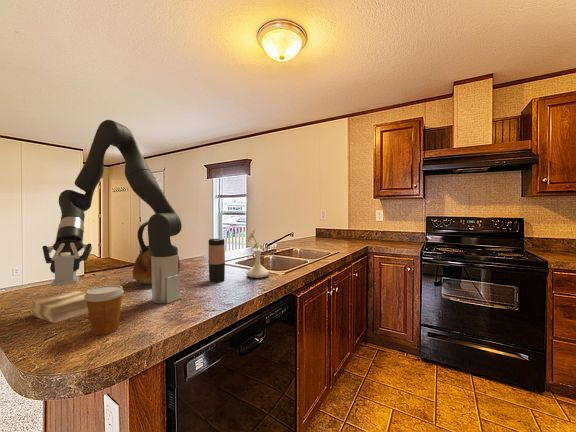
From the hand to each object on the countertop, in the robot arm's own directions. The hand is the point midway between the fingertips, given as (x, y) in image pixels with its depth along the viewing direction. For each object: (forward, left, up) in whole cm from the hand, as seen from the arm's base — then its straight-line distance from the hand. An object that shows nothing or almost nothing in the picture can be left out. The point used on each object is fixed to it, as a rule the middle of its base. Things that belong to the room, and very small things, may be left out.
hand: (64, 270), depth 90 cm
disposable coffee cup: (-25, +2, -15) cm, 29 cm away
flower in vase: (-33, -68, -15) cm, 77 cm away
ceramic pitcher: (+5, -40, -15) cm, 43 cm away
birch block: (+1, -1, -15) cm, 15 cm away
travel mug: (-19, -54, -15) cm, 59 cm away
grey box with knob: (+2, -1, -4) cm, 5 cm away
